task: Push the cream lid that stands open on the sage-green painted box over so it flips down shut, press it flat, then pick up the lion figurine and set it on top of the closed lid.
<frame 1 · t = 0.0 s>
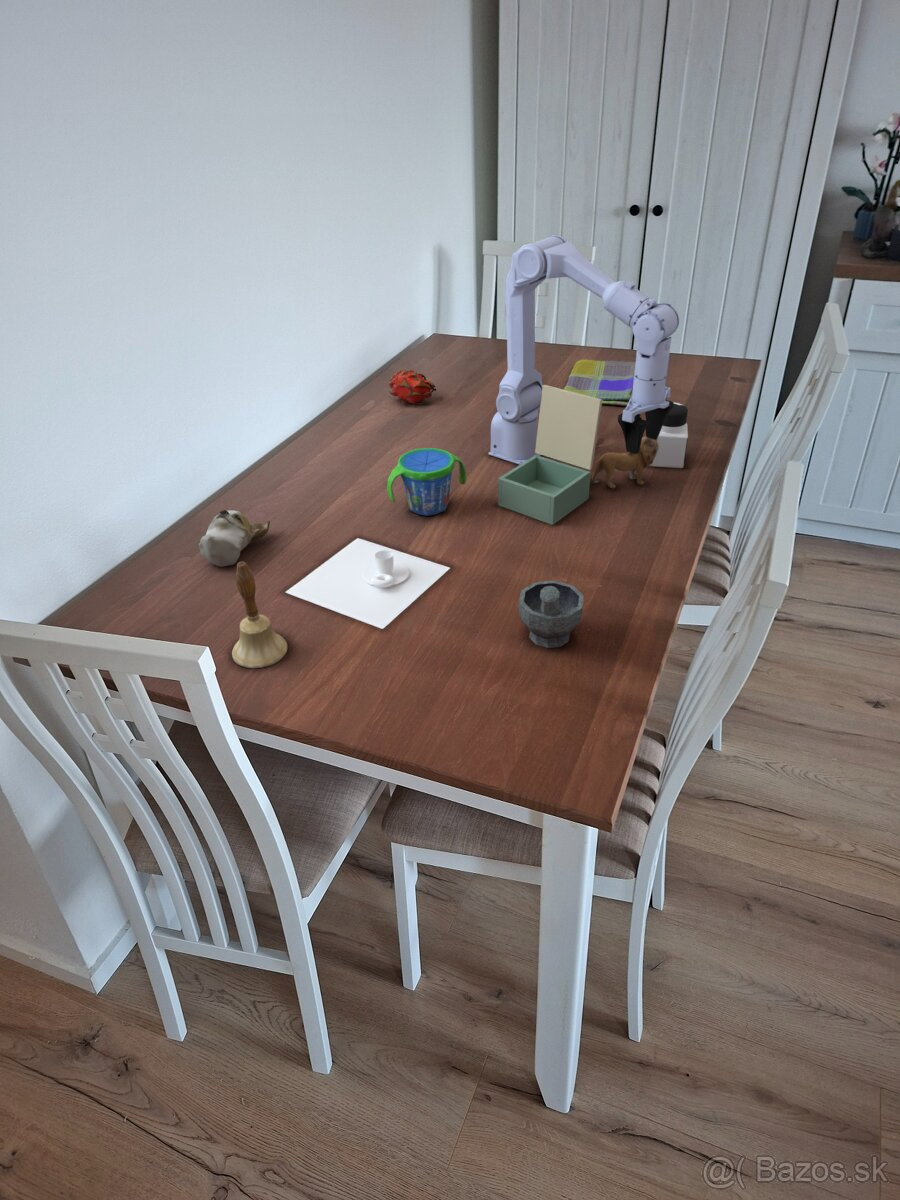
hand: (642, 445, 160), 10 cm above the table, tool pointing down, fingers open, 7 cm apart
dragon fruit: (412, 402, 206), on the table
snack cup: (428, 508, 163), on the table
dish towel: (601, 386, 211), on the table
teacup and saucer: (369, 580, 143), on the table
medicine bottle: (665, 461, 177), on the table
mortar and pestle: (549, 639, 129), on the table
box: (543, 501, 164), on the table
lion figurine: (622, 482, 170), on the table
lid: (567, 427, 161), point 13 cm above the table, hinge at 98.0°
ceramic sculpture: (233, 552, 152), on the table
hand bell: (260, 652, 128), on the table
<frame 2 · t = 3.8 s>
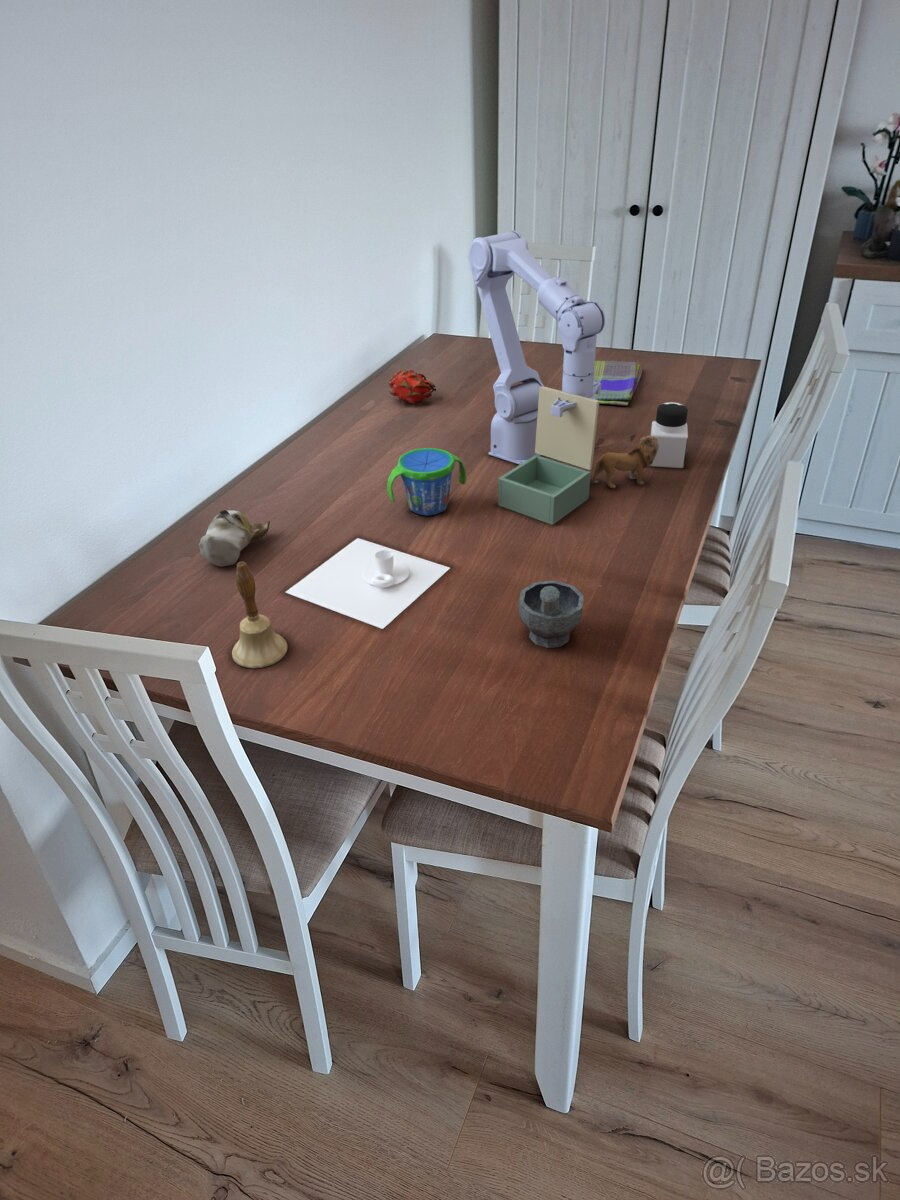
hand: (574, 439, 164), 9 cm above the table, tool pointing down, fingers closed
lid: (565, 428, 160), point 13 cm above the table, hinge at 93.1°
everything else where it was.
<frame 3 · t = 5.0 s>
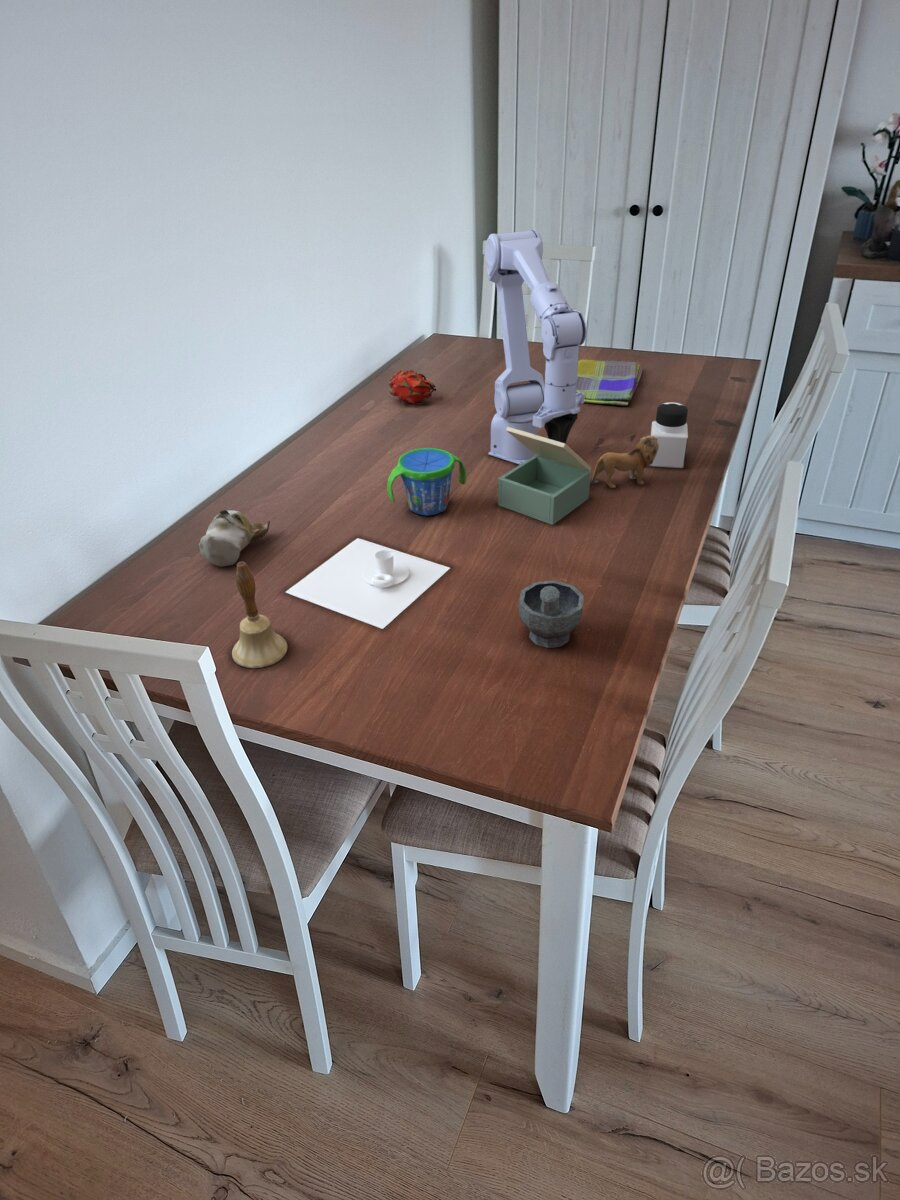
hand: (557, 450, 161), 9 cm above the table, tool pointing down, fingers closed
lid: (549, 449, 158), point 11 cm above the table, hinge at 40.8°
everything else where it was.
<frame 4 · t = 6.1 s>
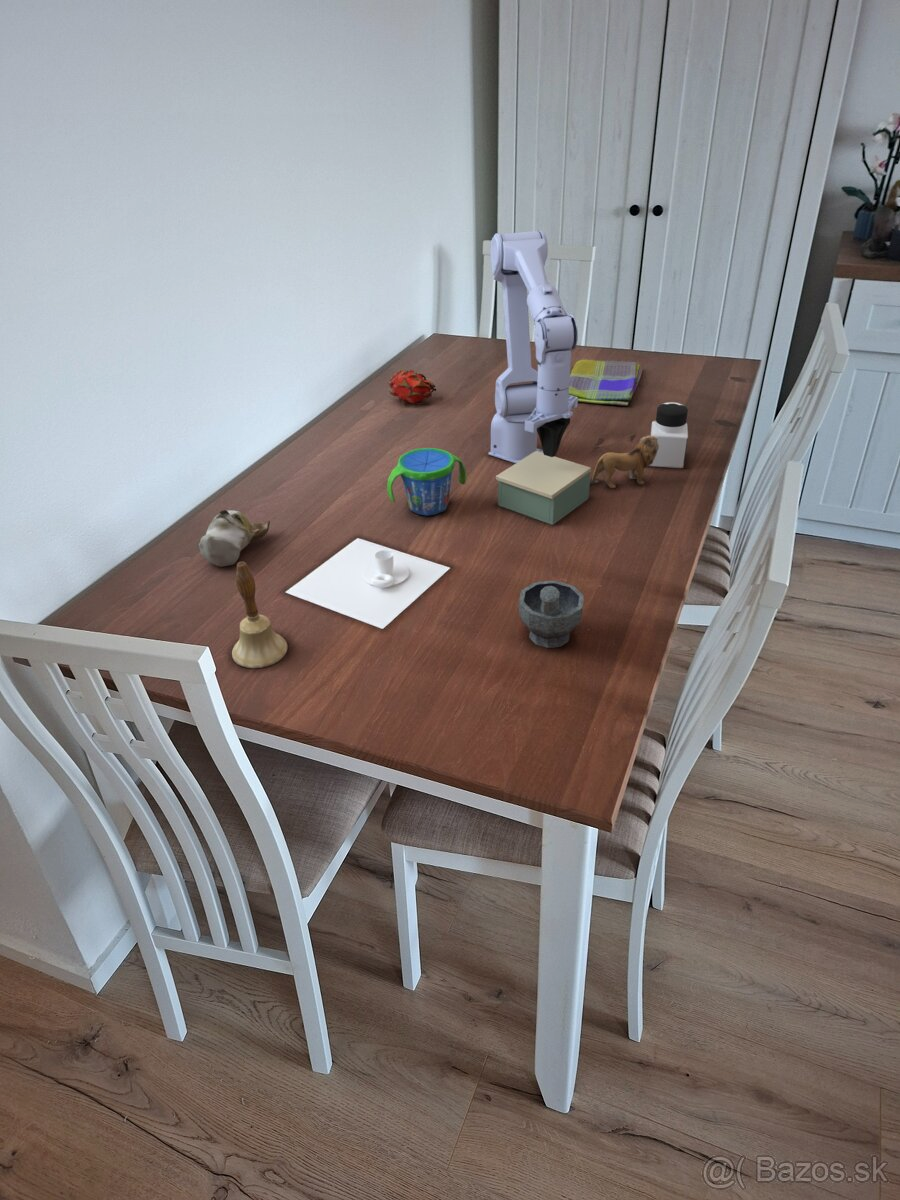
hand: (549, 454, 159), 9 cm above the table, tool pointing down, fingers closed
lid: (543, 473, 160), point 6 cm above the table, hinge at -0.2°
everything else where it was.
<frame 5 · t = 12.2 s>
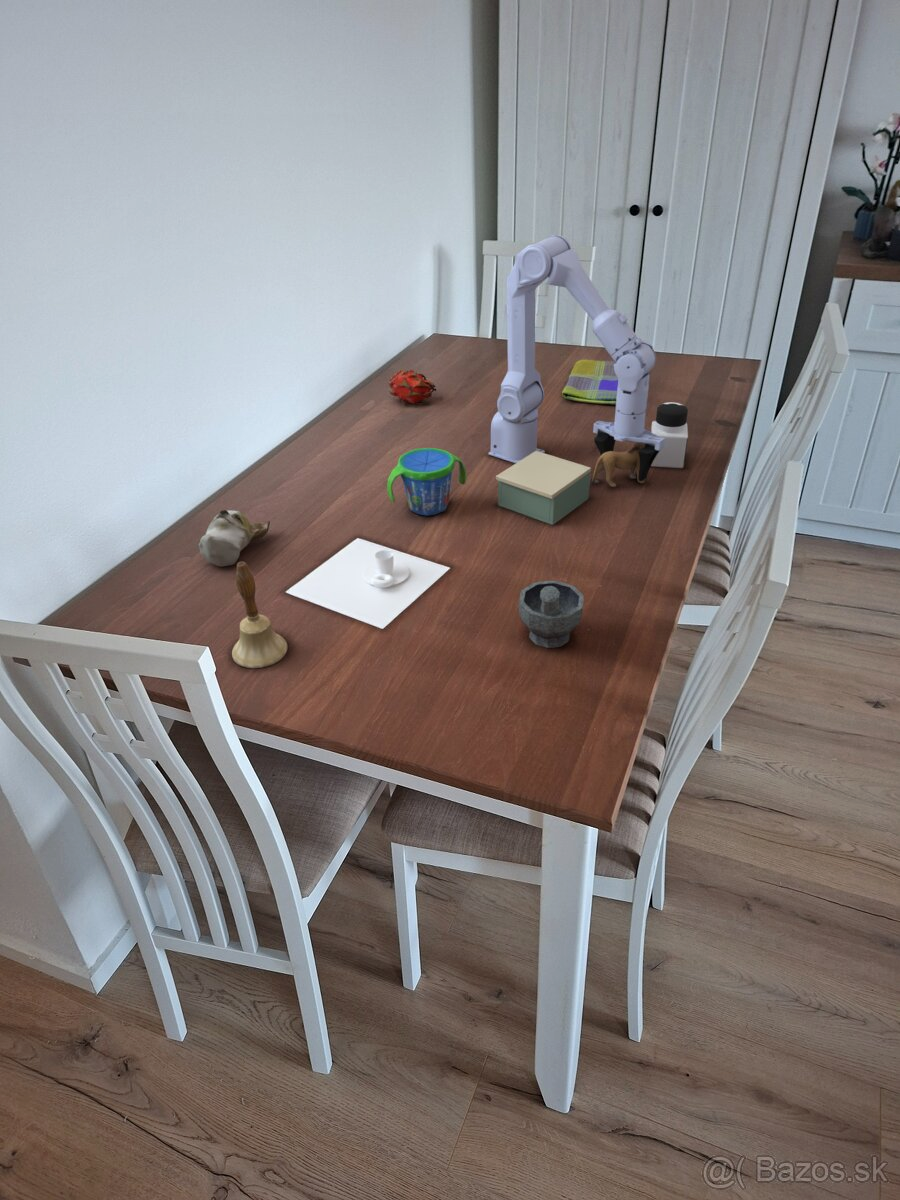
hand: (624, 473, 169), 2 cm above the table, tool pointing down
lion figurine: (623, 481, 170), on the table, touching gripper
everything else where it was.
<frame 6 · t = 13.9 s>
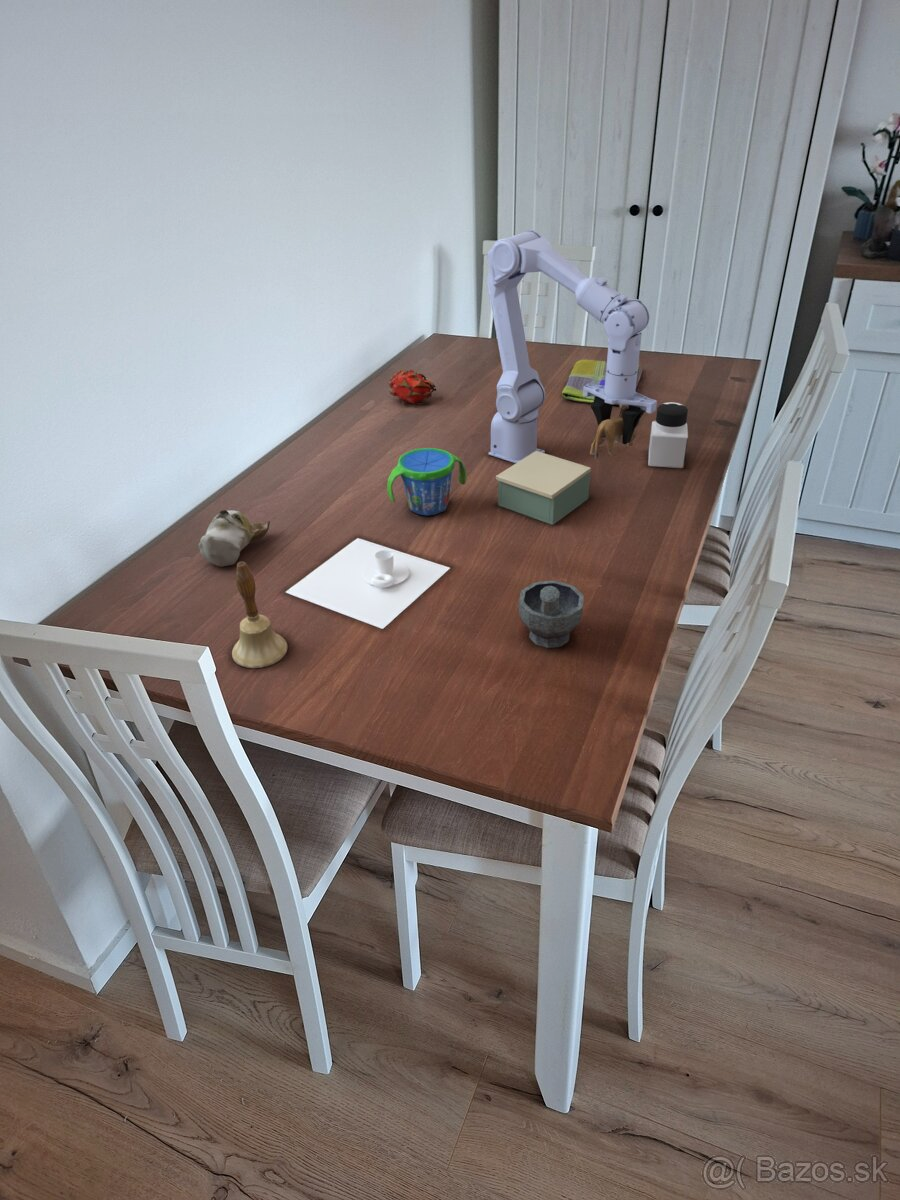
hand: (615, 438, 163), 10 cm above the table, tool pointing down, fingers closed on lion figurine, 4 cm apart
lion figurine: (613, 448, 165), point 8 cm above the table, touching gripper
everything else where it was.
when the fingers open (9 cm above the table, at t = 16.1 s): lion figurine stays where it is, resting on lid.
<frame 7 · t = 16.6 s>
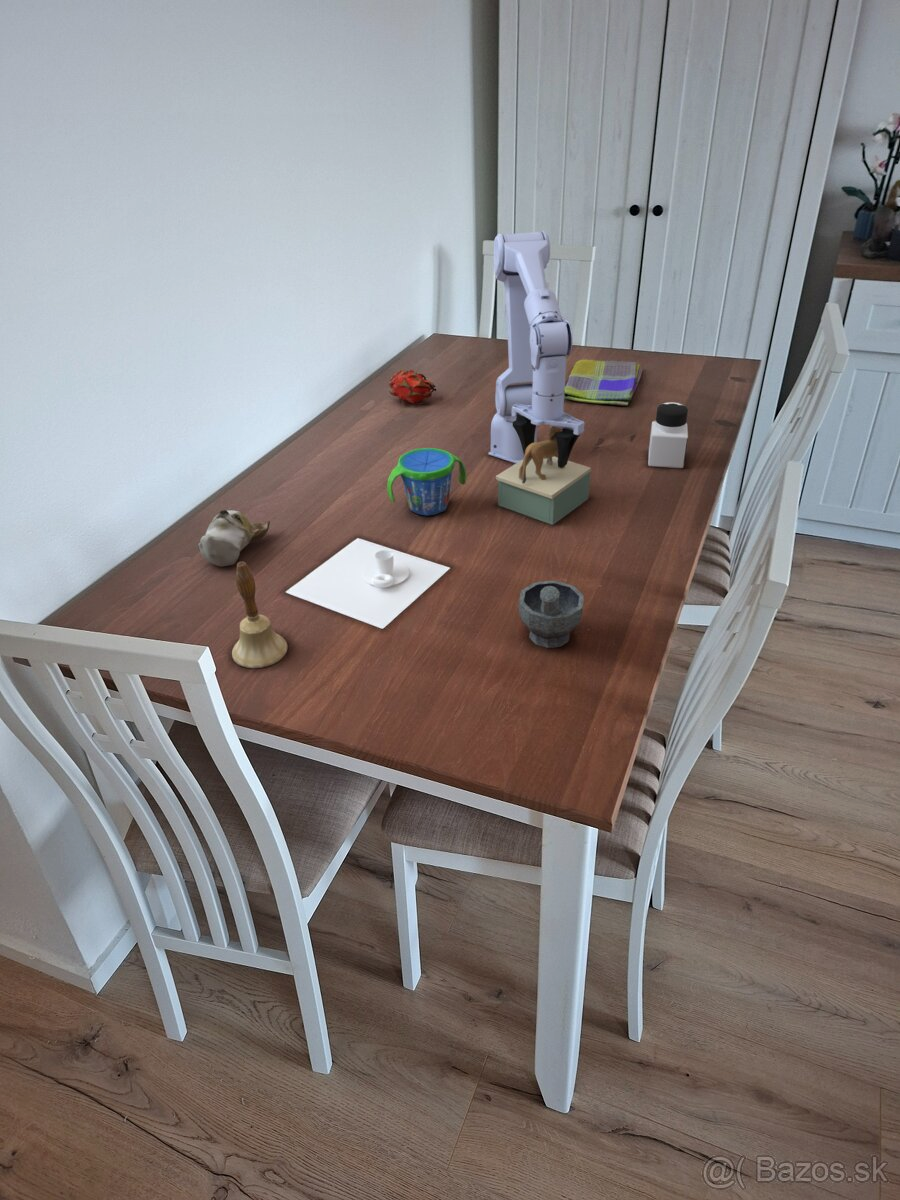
hand: (545, 460, 158), 9 cm above the table, tool pointing down, fingers open, 7 cm apart
lion figurine: (544, 470, 160), point 6 cm above the table, touching lid
lid: (543, 473, 160), point 6 cm above the table, hinge at -0.2°, touching box, lion figurine
everything else where it was.
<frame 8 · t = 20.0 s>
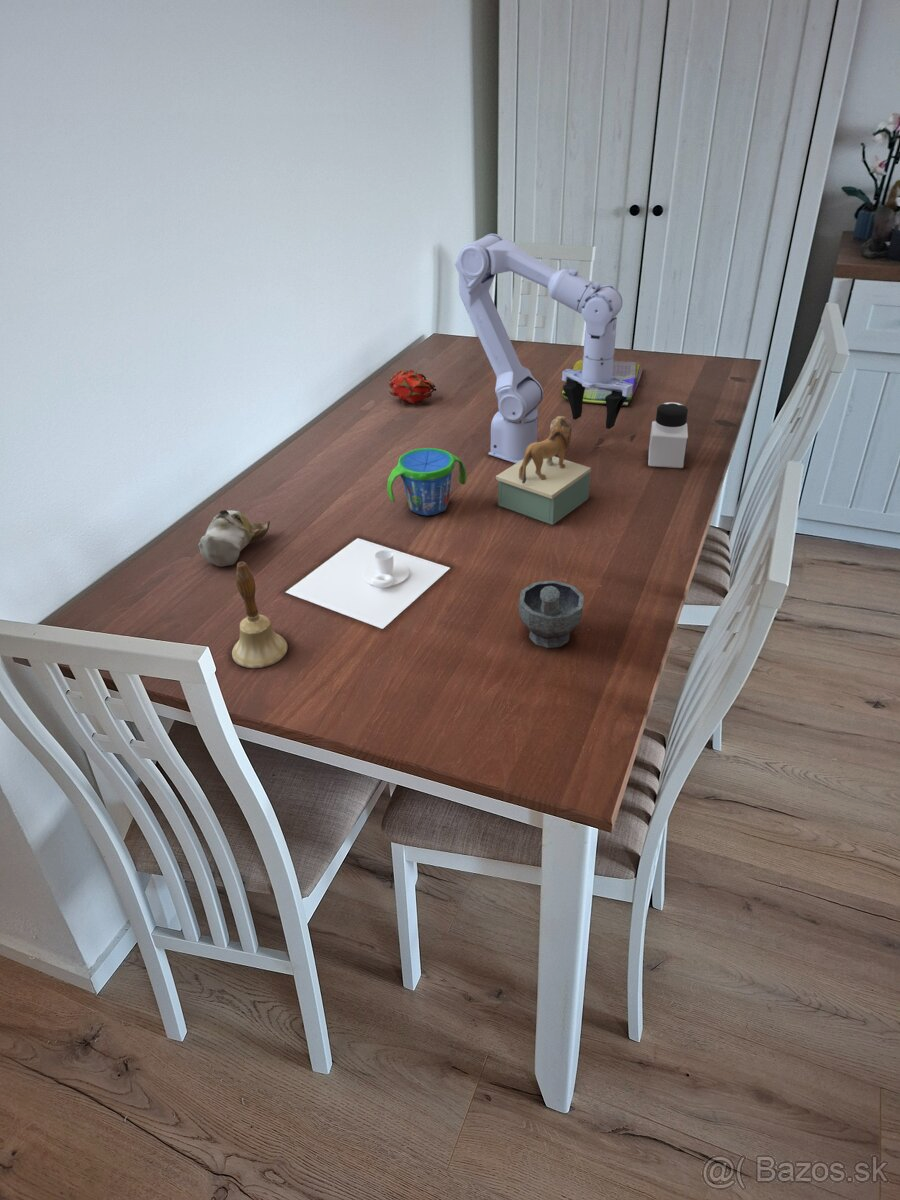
hand: (593, 422, 168), 10 cm above the table, tool pointing down, fingers open, 7 cm apart
nothing on the table moved.
at the end: lid at +0° (first picture: +98°); lion figurine inside the target area on the box (0.6 cm from its centre), point 6.4 cm above the box's base; lion figurine tilted 0° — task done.
